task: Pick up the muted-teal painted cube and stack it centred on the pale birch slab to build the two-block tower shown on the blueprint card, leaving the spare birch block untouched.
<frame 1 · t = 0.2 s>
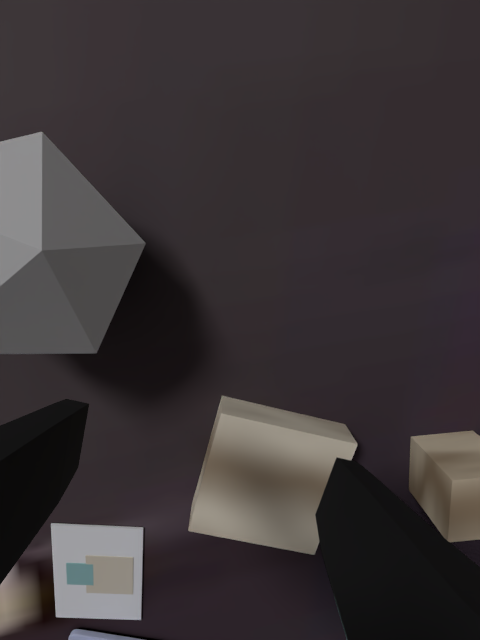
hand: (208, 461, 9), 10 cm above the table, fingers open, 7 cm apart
birch slab: (265, 460, 21), on the table
blueprint card: (98, 572, 22), on the table
die: (71, 255, 18), on the table
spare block: (439, 459, 21), on the table
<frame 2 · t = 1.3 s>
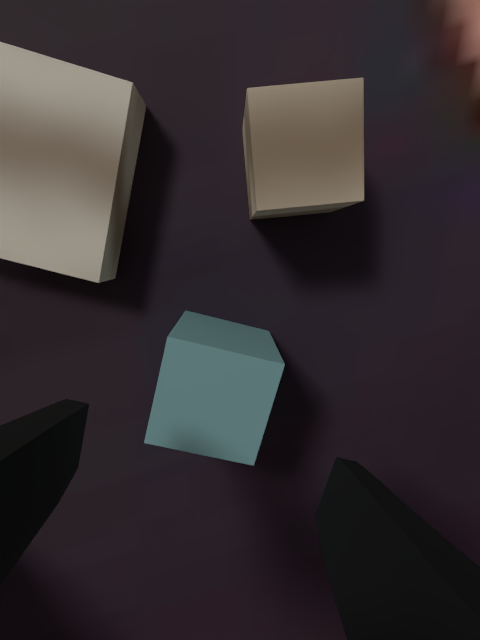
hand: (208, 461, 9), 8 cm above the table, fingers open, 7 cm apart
birch slab: (49, 175, 15), on the table
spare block: (287, 172, 15), on the table
teal cube: (217, 360, 17), on the table
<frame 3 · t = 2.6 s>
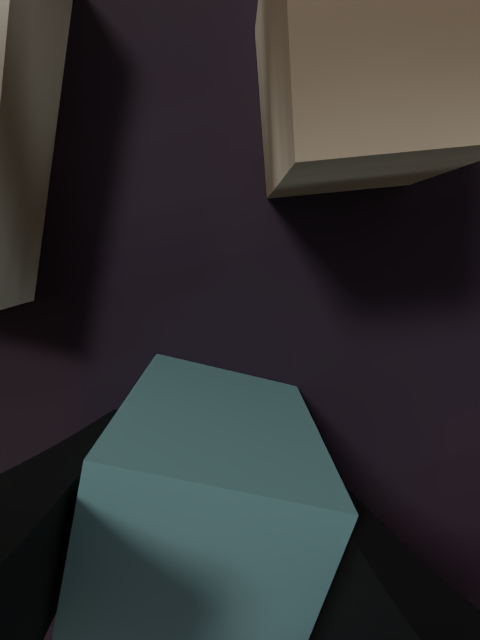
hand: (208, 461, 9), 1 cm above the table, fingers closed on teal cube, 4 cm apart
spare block: (335, 112, 9), on the table
teal cube: (211, 433, 10), on the table, touching gripper
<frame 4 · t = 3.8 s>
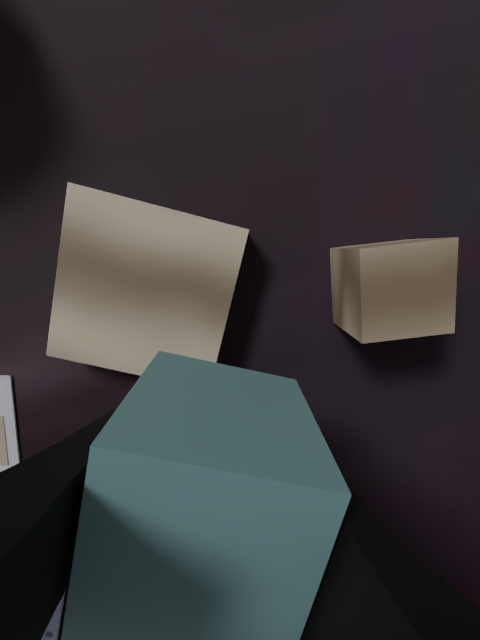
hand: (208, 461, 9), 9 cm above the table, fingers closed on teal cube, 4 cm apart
birch slab: (156, 287, 17), on the table
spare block: (368, 281, 17), on the table
teal cube: (213, 427, 11), point 7 cm above the table, touching gripper
when the fingers open (5 cm above the table, at t = 5.2 s): teal cube drops 2 cm, resting on birch slab.
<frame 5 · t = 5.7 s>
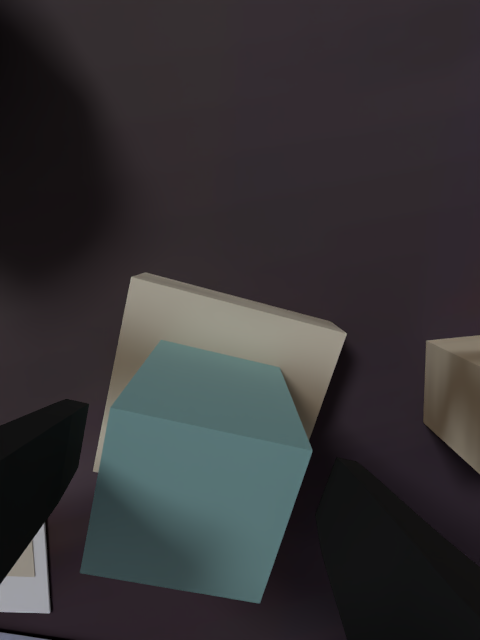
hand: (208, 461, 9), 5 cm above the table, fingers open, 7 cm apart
birch slab: (217, 378, 15), on the table, touching teal cube
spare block: (467, 377, 15), on the table
teal cube: (207, 407, 12), point 2 cm above the table, touching birch slab
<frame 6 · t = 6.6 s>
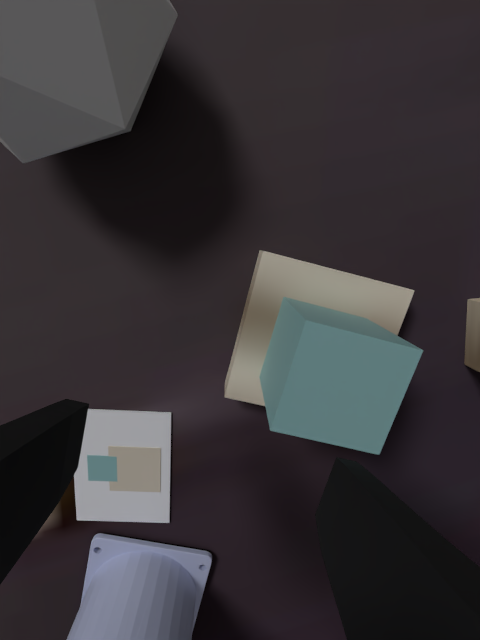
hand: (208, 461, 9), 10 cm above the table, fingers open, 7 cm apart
birch slab: (305, 332, 19), on the table, touching teal cube
blueprint card: (122, 467, 20), on the table
die: (88, 78, 15), on the table
teal cube: (312, 348, 17), point 2 cm above the table, touching birch slab
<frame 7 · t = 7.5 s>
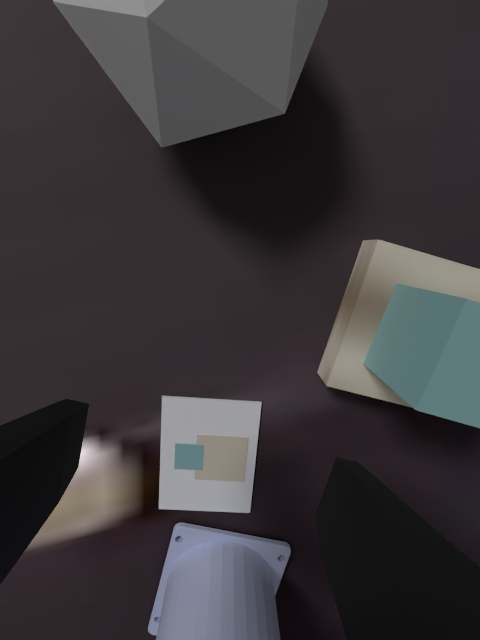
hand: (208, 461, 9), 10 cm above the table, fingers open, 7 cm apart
birch slab: (398, 324, 19), on the table, touching teal cube
blueprint card: (208, 456, 20), on the table
die: (208, 66, 16), on the table
teal cube: (418, 336, 17), point 2 cm above the table, touching birch slab
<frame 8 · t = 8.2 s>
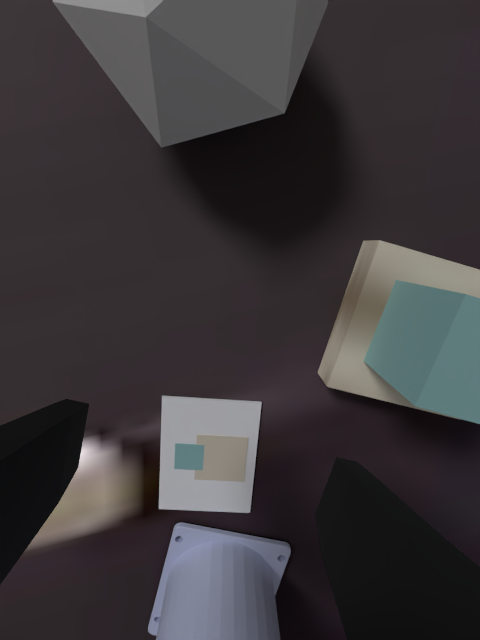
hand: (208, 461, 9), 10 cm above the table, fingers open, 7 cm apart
birch slab: (398, 324, 19), on the table, touching teal cube
blueprint card: (208, 456, 20), on the table
die: (208, 66, 16), on the table
teal cube: (418, 333, 17), point 2 cm above the table, touching birch slab
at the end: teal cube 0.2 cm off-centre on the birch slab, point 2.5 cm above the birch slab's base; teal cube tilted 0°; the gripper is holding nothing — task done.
